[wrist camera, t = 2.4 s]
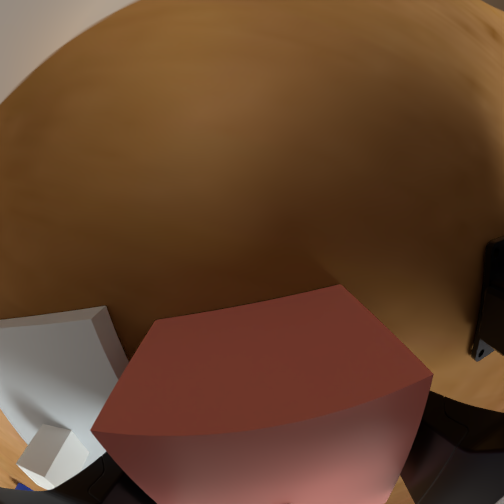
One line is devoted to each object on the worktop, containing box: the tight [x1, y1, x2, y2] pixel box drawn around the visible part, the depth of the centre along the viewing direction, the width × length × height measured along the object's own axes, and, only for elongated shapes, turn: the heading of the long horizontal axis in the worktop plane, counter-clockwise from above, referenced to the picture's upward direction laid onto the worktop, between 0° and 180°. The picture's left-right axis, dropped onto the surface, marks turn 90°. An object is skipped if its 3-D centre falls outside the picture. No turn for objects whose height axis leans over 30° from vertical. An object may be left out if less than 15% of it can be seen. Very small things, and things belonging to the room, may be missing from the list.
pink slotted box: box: [90, 284, 433, 504], centre depth 7 cm, size 6×6×6 cm
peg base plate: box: [0, 306, 129, 490], centre depth 8 cm, size 12×14×5 cm
